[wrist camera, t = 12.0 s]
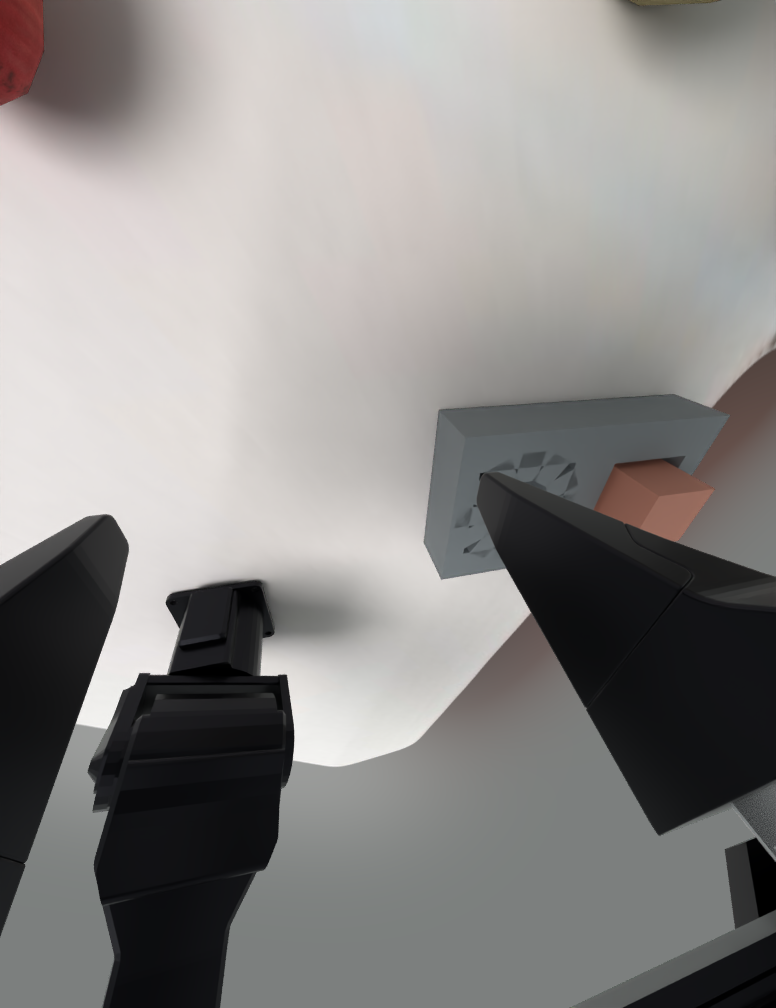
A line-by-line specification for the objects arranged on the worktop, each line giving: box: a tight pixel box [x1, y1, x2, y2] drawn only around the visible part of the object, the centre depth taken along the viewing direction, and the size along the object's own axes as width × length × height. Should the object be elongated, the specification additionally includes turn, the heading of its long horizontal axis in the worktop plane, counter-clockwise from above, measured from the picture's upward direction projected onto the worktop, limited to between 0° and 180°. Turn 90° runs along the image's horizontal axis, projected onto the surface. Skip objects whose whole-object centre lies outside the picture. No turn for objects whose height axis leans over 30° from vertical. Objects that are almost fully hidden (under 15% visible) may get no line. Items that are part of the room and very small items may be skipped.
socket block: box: [424, 394, 730, 580], centre depth 25 cm, size 11×18×4 cm, turn 89°
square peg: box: [594, 459, 715, 541], centre depth 24 cm, size 4×4×7 cm
